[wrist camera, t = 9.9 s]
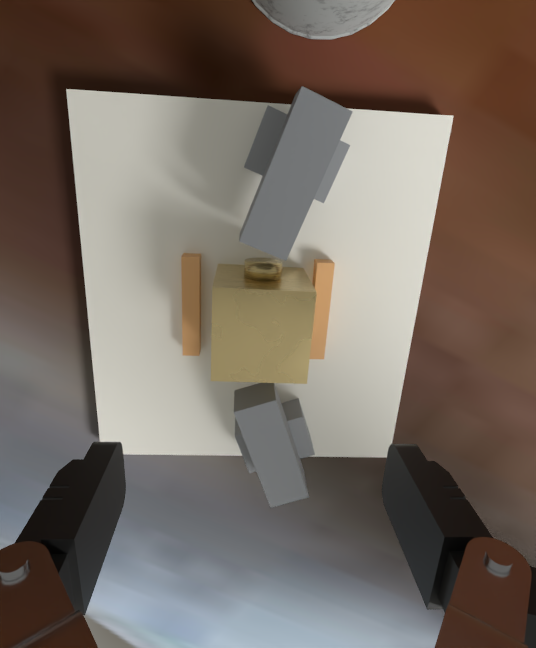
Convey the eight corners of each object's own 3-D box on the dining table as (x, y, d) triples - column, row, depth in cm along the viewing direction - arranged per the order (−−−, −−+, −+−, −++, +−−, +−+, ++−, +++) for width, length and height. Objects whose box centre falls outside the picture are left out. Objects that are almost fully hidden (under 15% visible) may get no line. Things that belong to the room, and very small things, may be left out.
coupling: (218, 249, 25) (212, 270, 20) (304, 254, 25) (318, 275, 21) (215, 354, 27) (210, 394, 23) (295, 356, 28) (305, 397, 23)
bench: (383, 449, 32) (412, 508, 27) (106, 445, 31) (77, 507, 25) (444, 113, 24) (502, 100, 19) (74, 88, 23) (21, 65, 17)
